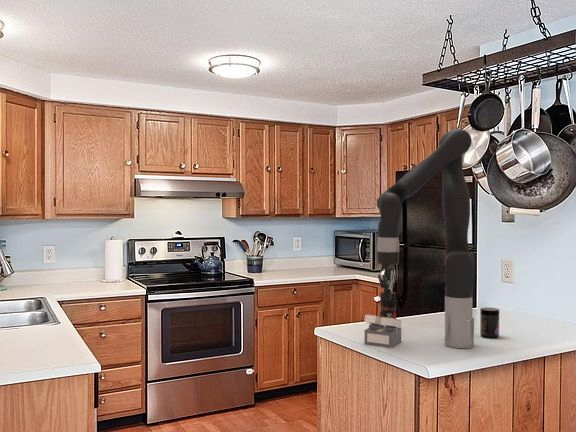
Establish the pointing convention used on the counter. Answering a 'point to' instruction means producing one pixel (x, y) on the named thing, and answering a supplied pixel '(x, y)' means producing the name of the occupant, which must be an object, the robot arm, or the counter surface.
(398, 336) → the grey box
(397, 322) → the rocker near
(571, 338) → the counter surface
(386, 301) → the deodorant
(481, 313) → the supplement container
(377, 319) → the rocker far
